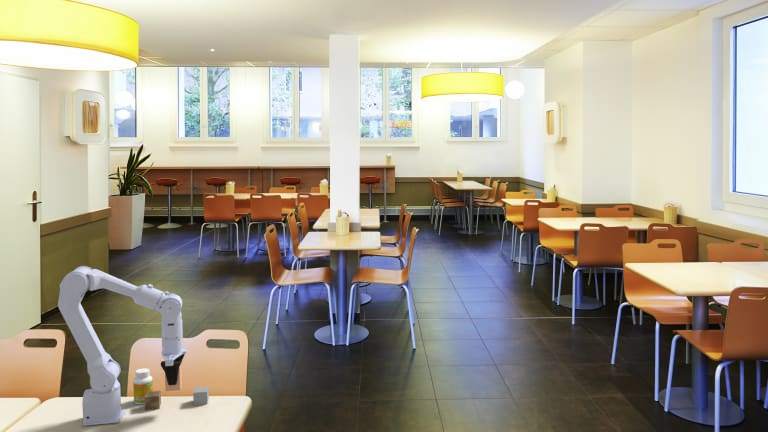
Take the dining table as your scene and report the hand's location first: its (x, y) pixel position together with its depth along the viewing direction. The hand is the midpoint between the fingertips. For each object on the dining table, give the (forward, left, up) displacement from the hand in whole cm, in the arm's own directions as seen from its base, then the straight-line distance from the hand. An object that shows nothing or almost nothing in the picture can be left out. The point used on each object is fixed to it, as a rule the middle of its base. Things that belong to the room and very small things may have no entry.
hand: (173, 381), depth 163 cm
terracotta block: (0, 0, -2) cm, 2 cm away
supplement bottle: (-10, +9, -9) cm, 17 cm away
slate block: (+7, +5, -9) cm, 12 cm away
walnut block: (-7, +5, -9) cm, 12 cm away
